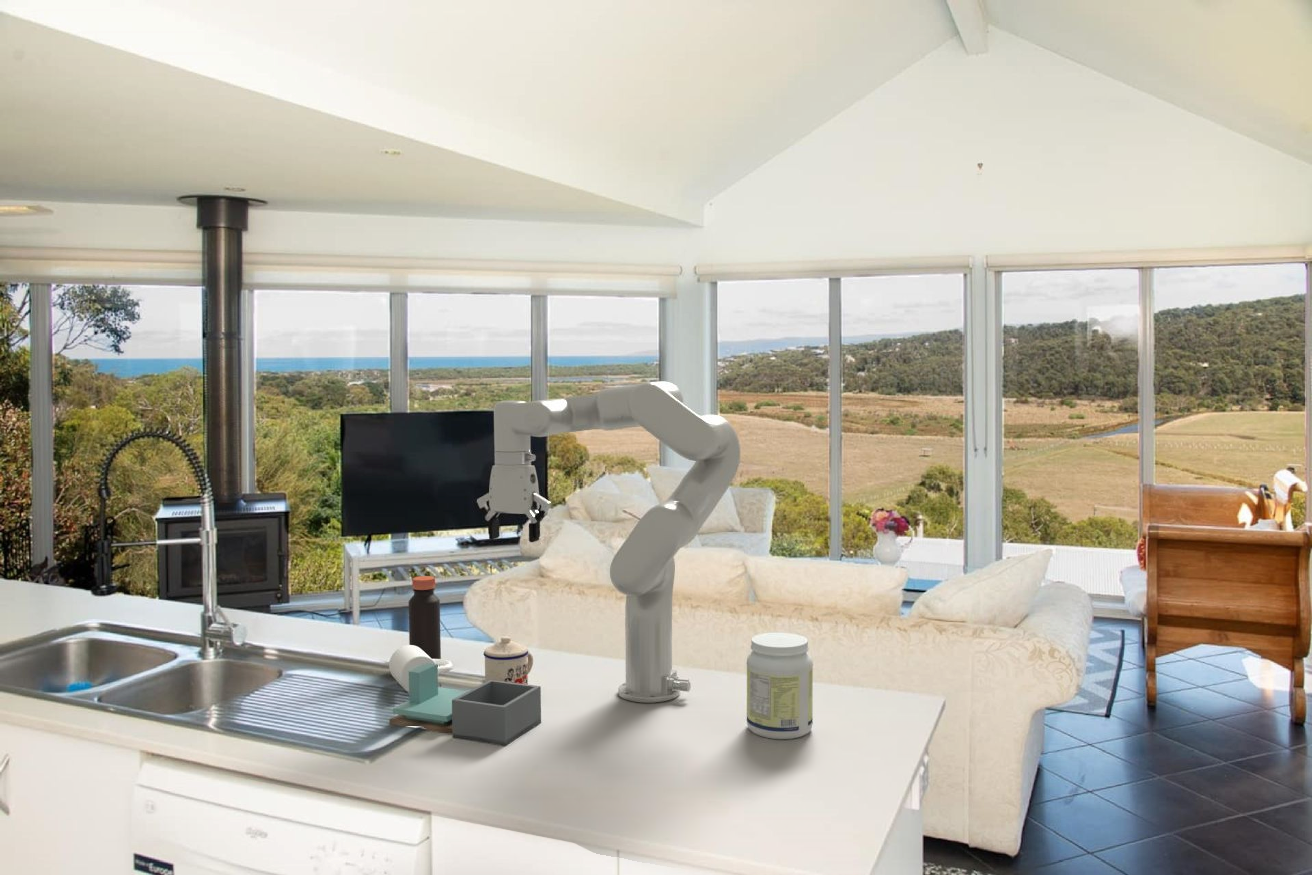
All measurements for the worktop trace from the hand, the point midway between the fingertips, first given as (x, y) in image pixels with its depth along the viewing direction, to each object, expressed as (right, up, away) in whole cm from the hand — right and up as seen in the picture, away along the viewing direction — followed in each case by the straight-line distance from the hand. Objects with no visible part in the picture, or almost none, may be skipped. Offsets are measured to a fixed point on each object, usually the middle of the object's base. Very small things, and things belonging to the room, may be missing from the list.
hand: (514, 539), depth 222 cm
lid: (-11, -31, -21) cm, 39 cm away
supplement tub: (+53, -32, -29) cm, 68 cm away
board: (-11, -32, -21) cm, 40 cm away
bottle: (-22, -30, +13) cm, 39 cm away
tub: (+1, -32, -28) cm, 43 cm away
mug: (-19, -31, -2) cm, 36 cm away
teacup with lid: (0, -31, -5) cm, 31 cm away
